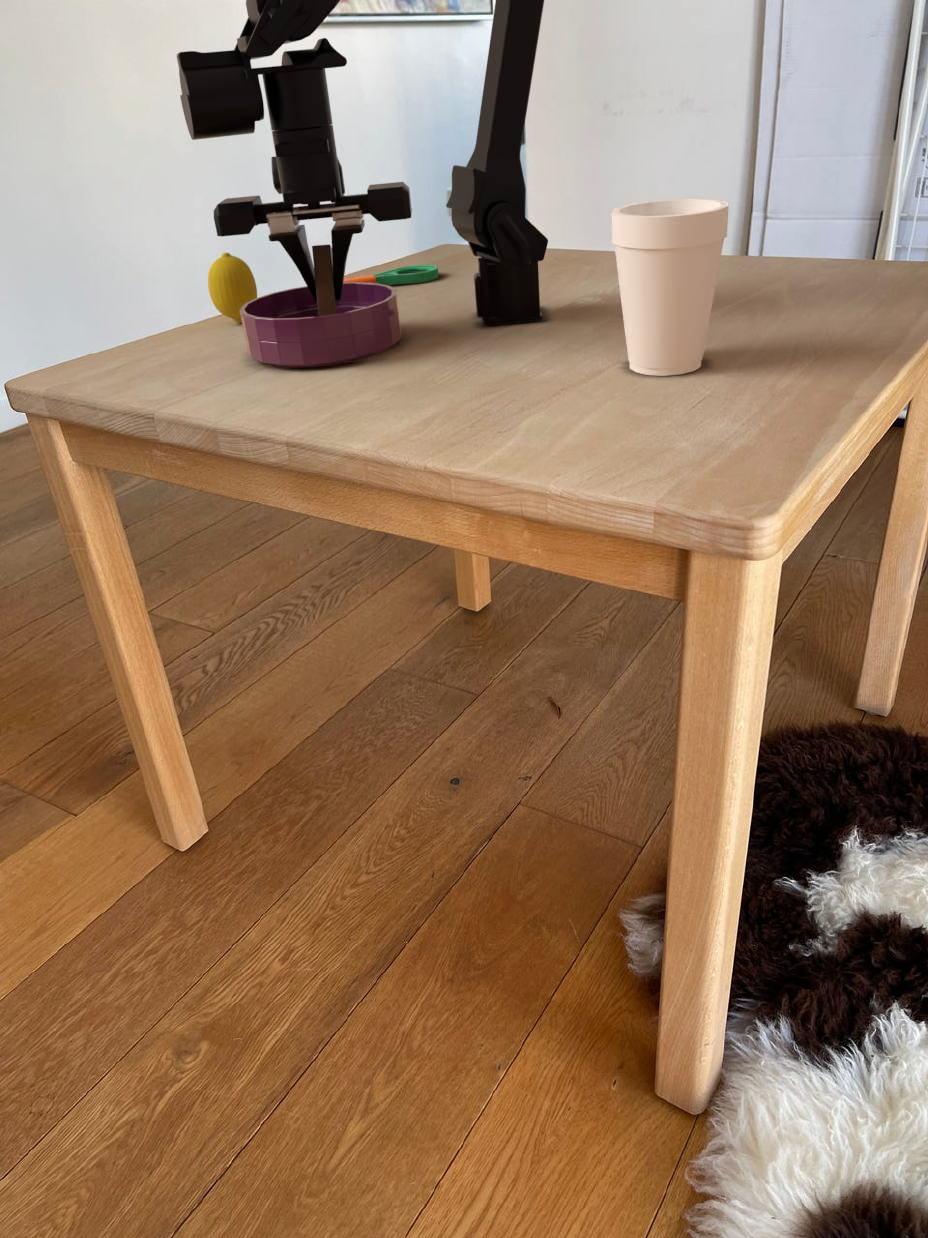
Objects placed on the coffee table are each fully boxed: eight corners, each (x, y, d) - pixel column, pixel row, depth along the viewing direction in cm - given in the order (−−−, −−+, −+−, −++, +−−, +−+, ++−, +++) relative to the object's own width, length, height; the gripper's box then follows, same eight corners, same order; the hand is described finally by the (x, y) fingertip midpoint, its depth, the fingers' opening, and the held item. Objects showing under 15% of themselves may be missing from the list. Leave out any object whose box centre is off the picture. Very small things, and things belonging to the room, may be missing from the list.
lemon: (252, 327, 108) (237, 255, 104) (208, 329, 110) (193, 258, 105) (269, 316, 113) (256, 246, 109) (228, 317, 114) (213, 249, 110)
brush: (364, 341, 96) (356, 249, 95) (359, 336, 92) (350, 238, 90) (304, 346, 96) (295, 254, 95) (295, 341, 92) (286, 244, 91)
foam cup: (654, 388, 77) (657, 220, 70) (591, 364, 84) (589, 211, 78) (742, 365, 80) (753, 203, 74) (674, 344, 88) (679, 195, 81)
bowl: (403, 323, 104) (398, 276, 102) (400, 362, 90) (393, 309, 88) (262, 336, 104) (253, 290, 102) (238, 377, 91) (227, 325, 88)
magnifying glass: (426, 272, 128) (425, 259, 128) (446, 277, 124) (445, 264, 123) (325, 291, 123) (323, 278, 122) (341, 298, 118) (339, 284, 117)
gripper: (403, 114, 93) (419, 276, 101) (219, 132, 93) (250, 292, 101) (401, 120, 84) (419, 298, 92) (196, 139, 84) (232, 315, 92)
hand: (328, 300), depth 94 cm, fingers closed on brush, 2 cm apart
